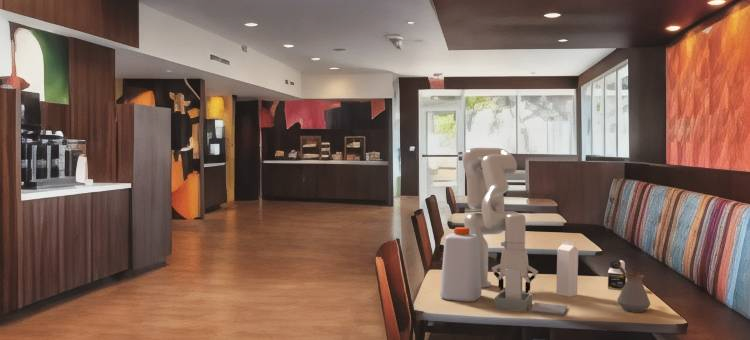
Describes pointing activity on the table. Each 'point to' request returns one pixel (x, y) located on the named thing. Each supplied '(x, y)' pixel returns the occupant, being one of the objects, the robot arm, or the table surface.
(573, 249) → the milk
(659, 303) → the table surface
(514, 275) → the skincare box
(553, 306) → the pad
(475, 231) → the robot arm
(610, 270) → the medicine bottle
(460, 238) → the plastic bottle
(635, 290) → the coffee pot
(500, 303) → the bin
